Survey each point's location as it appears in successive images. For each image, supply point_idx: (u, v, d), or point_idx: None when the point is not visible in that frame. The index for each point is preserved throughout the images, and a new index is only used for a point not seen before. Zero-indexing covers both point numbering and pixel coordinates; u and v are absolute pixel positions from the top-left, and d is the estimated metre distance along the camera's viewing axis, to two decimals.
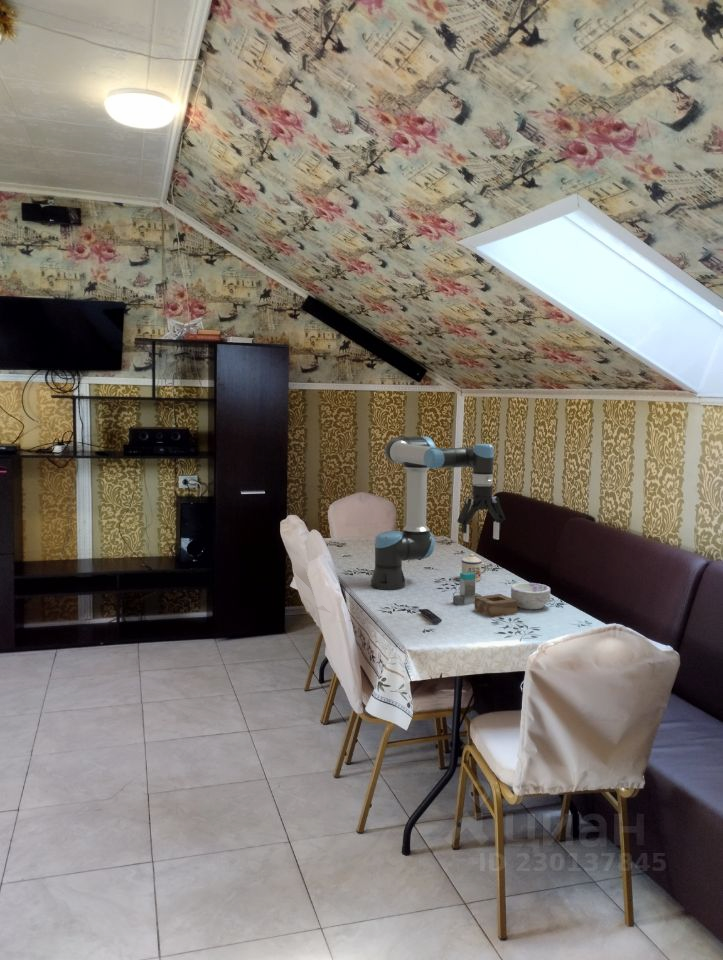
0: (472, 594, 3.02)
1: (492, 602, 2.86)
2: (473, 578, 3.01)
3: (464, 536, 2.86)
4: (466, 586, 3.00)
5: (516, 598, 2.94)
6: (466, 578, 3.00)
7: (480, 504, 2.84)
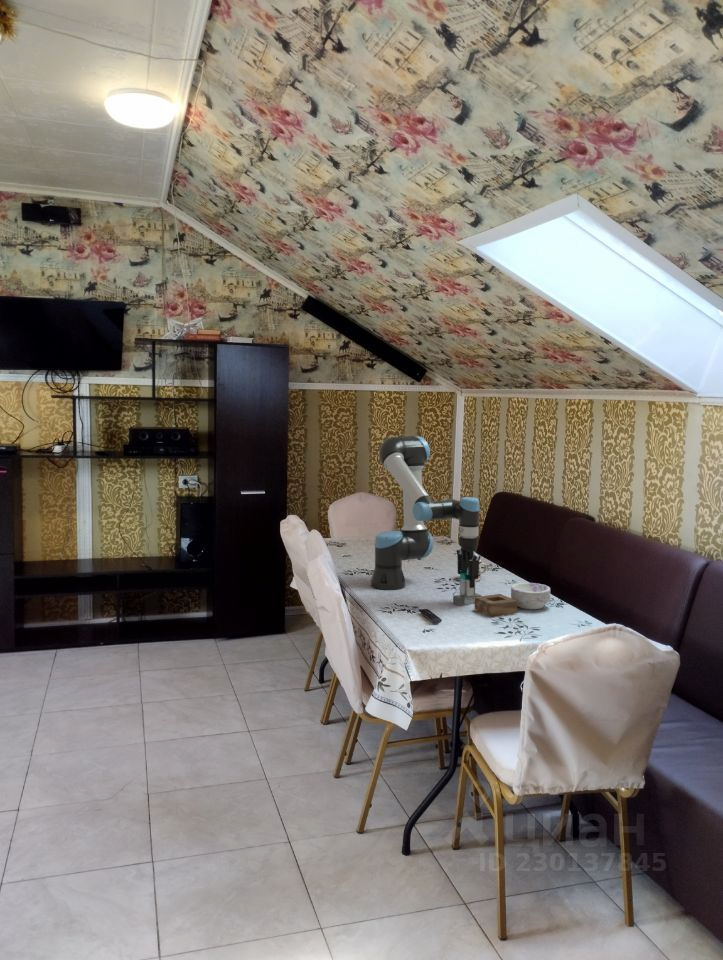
0: None
1: (492, 602, 2.86)
2: None
3: None
4: (466, 586, 3.00)
5: (516, 598, 2.94)
6: (466, 578, 3.00)
7: (462, 554, 3.02)
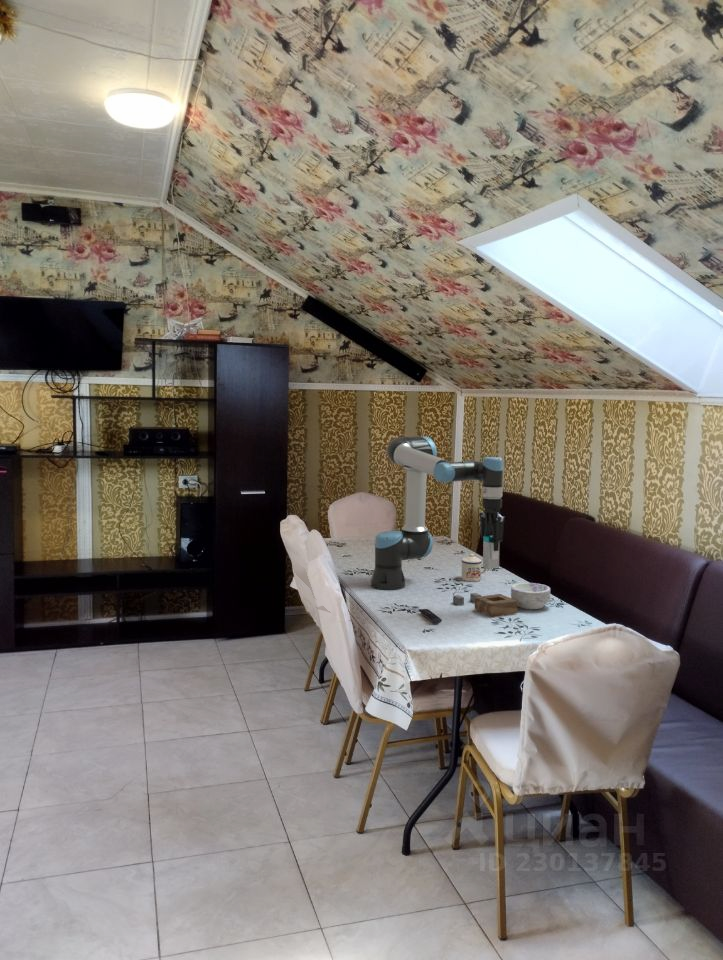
0: None
1: (492, 602, 2.86)
2: None
3: None
4: (490, 549, 2.89)
5: (516, 598, 2.94)
6: (490, 541, 2.88)
7: (485, 516, 2.90)
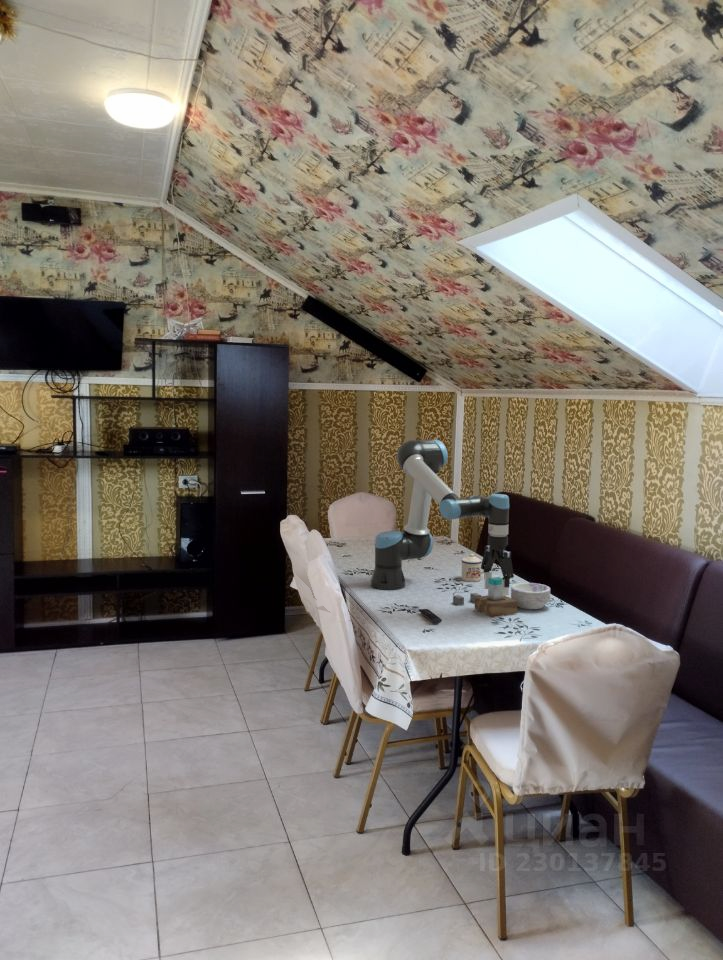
0: None
1: (492, 602, 2.86)
2: None
3: None
4: (495, 592, 2.88)
5: (516, 598, 2.94)
6: (495, 583, 2.88)
7: (490, 553, 2.90)
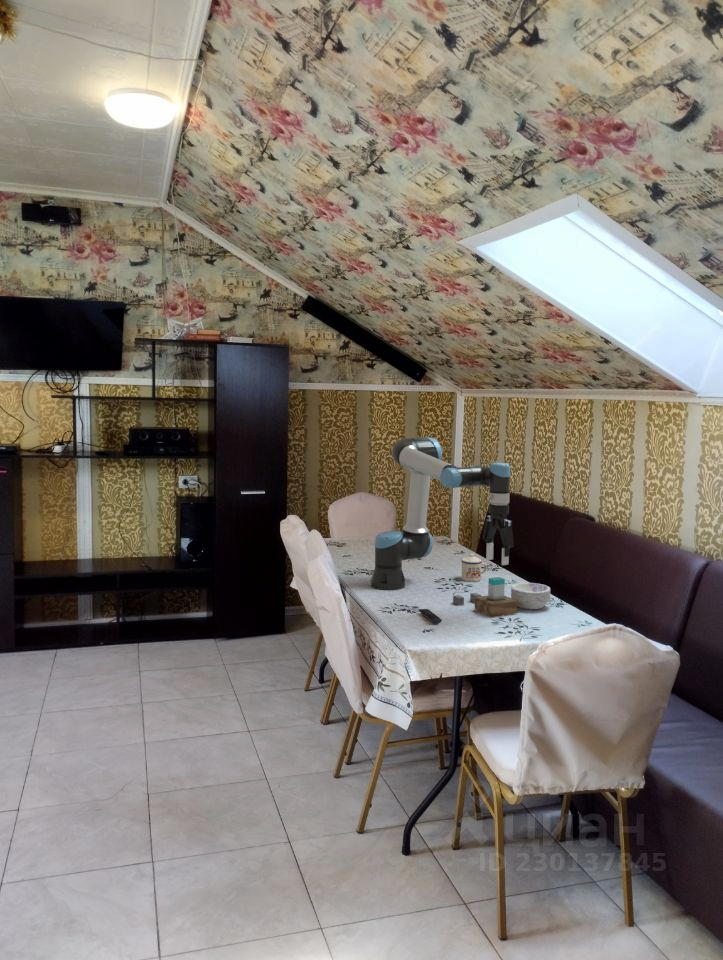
0: None
1: (492, 602, 2.86)
2: (502, 583, 2.89)
3: None
4: (495, 592, 2.88)
5: (516, 598, 2.94)
6: (495, 583, 2.88)
7: (491, 522, 2.88)
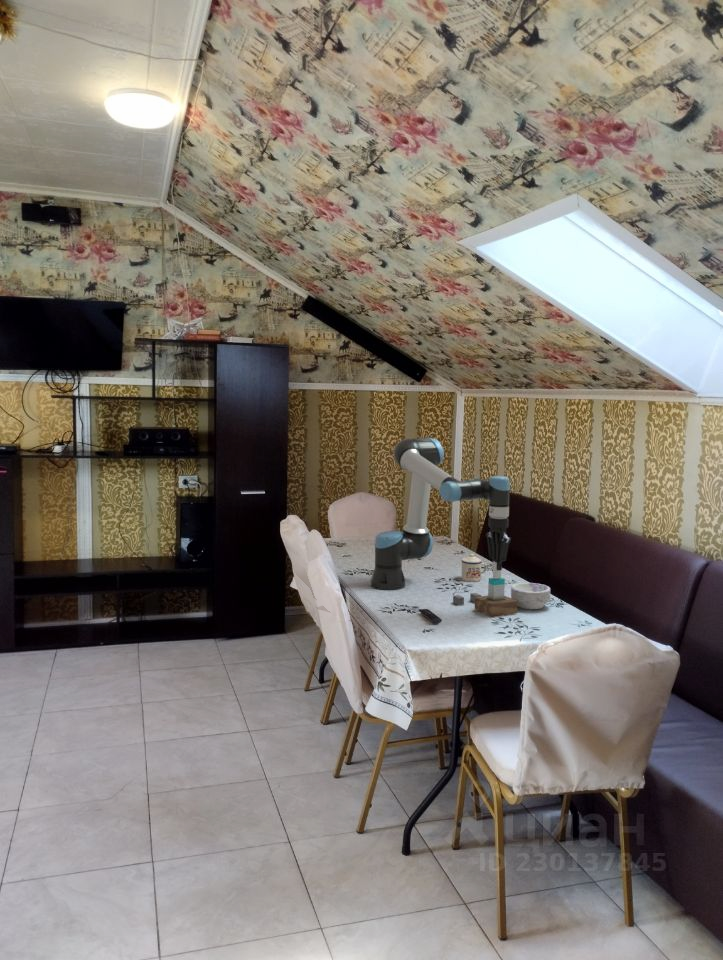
0: None
1: (492, 602, 2.86)
2: (502, 583, 2.89)
3: None
4: (495, 592, 2.88)
5: (516, 598, 2.94)
6: (495, 583, 2.88)
7: (492, 536, 2.88)
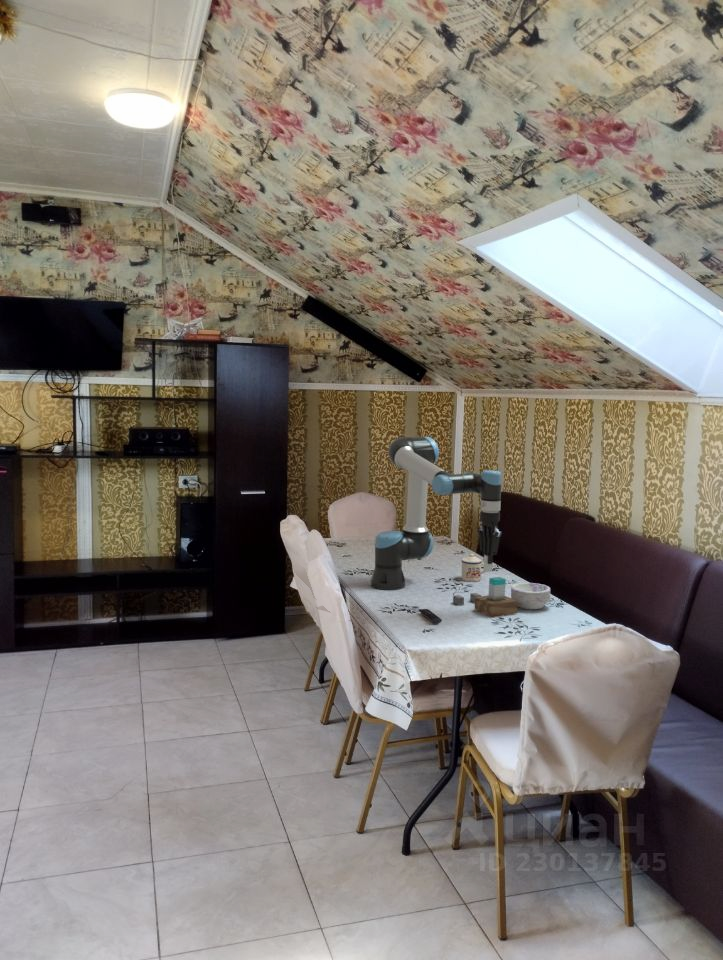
0: None
1: (492, 602, 2.86)
2: (503, 583, 2.89)
3: None
4: (495, 592, 2.88)
5: (516, 598, 2.94)
6: (496, 583, 2.87)
7: (483, 529, 2.90)
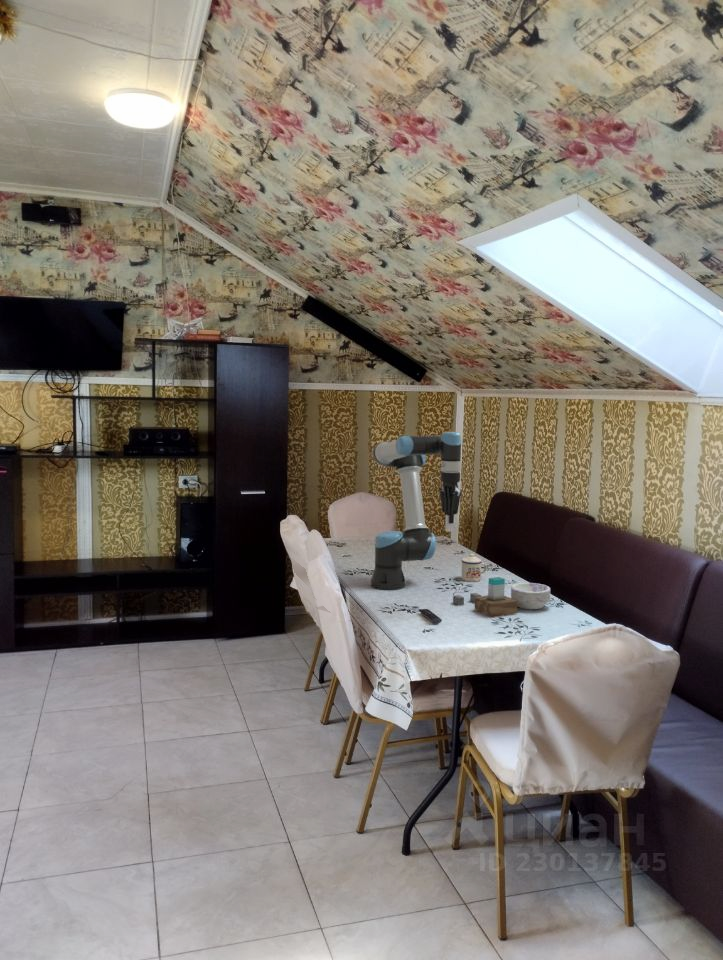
0: None
1: (492, 602, 2.86)
2: (502, 583, 2.89)
3: None
4: (495, 592, 2.88)
5: (516, 598, 2.94)
6: (495, 583, 2.88)
7: (444, 490, 2.97)
